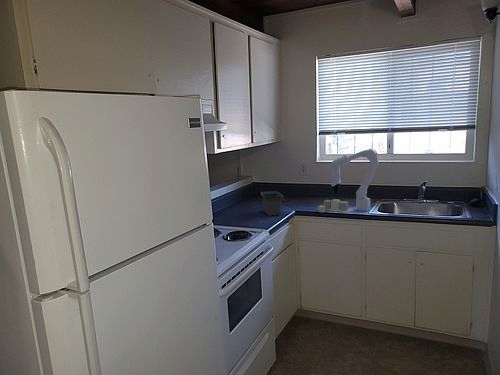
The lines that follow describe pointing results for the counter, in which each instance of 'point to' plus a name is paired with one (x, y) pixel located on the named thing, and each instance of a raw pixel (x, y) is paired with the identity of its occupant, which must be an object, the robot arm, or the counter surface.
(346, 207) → the din rail
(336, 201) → the block
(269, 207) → the storage bin
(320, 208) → the block
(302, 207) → the counter surface
